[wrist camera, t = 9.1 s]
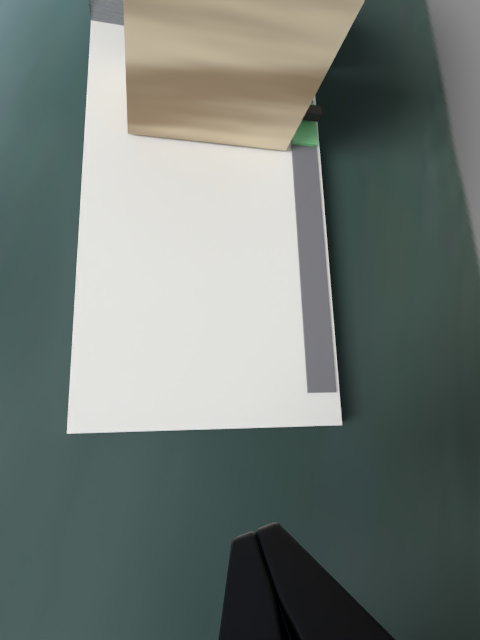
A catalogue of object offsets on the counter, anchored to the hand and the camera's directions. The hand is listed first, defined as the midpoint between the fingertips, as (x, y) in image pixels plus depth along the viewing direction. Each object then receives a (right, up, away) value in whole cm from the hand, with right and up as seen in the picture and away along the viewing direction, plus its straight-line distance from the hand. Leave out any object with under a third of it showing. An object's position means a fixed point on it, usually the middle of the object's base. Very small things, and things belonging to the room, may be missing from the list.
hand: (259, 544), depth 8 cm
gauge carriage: (-2, +15, +15) cm, 21 cm away
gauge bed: (-2, +10, +15) cm, 18 cm away
